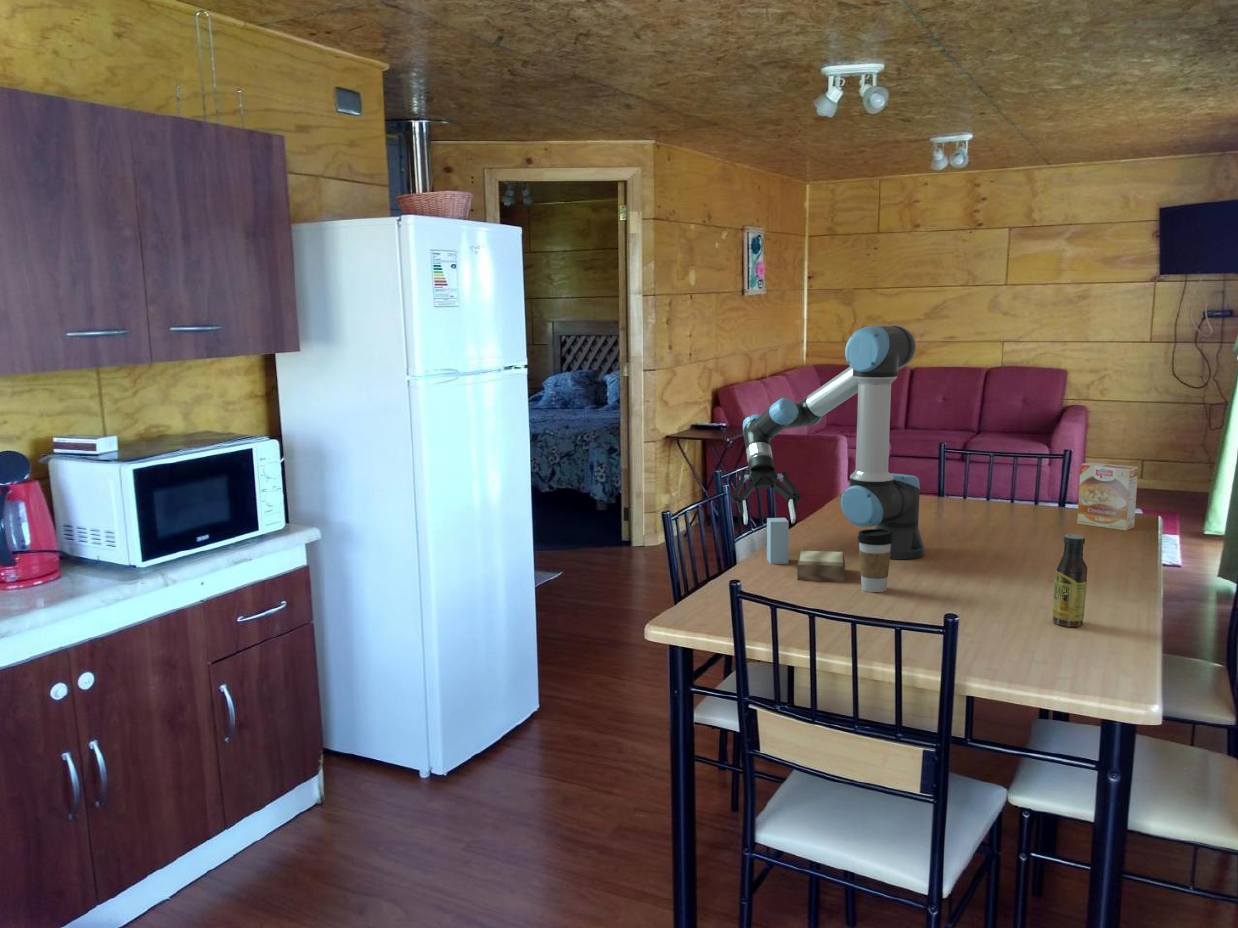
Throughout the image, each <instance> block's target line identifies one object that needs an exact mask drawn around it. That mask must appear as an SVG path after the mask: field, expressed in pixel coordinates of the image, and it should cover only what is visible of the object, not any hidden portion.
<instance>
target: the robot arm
mask: <svg viewBox="0 0 1238 928" xmlns="http://www.w3.org/2000/svg"><path fill="white" fill-rule="evenodd" d="M916 349H917V344H916V339H915V336H914V335H913V334H912V333H911V332H910V331H909V330H908V329H907V328H905V327H902V326H900V325H899V326H898V325H886V326H885V325H878V326H877V325H872V326H867V327H862V328H859V329H857V330H856V331H854V332H853V334H851V335H850V336H849V339H848V340H847V341H846V345H845V350H844V351H845V352H844V353H845V360H846V362H847V363H848V365H849V366H848V367H847V368H846V369H844V370H843V371H842V372H840V373H839V374H837V375H836V376H834V377H833V378H832V379H830V380H829V381H827V382H826V383H824V384H823V385H822V386H820V387H819V388H817V389H816V390H814V391H812V392H811V393H810V394H808V395H807V396H805V397H804V398H803V399H801V400H799V401H796V402H793V400H791V399H788V398H786V397H782V398H780V399H778V400H776V402H773V404H771V405H770V407H768V408H767V409H766V410H765V411H764V412H762V414H751V416H747V417H745V418H744V420H743V423H742V436H743V440H744V445H745V453H746V461H747V467H748V473H749V474H745V473H744V472H740V475H739V478H738V479H739V481H738V482H737V485H736V487H735V488H734V492H733V493H732V496H731V501H730V502H731V503H732V504H736V506H737V507H738V513H739V514H742V517H743V524H744V525H748V520H749V517H748V510H747V502H746V500H747V499H748V498H749V496H750V495H751V494H752V492H753V491H755V490H756V489H757V488H758V490H762V489H766V490H768V489H772V490H773V491H776V493H778V494H779V495H780V496H782V497H783V498H784V499H785V500H787V501H788V504H787V505H788V511H789V516H790V521H791V524H795V522H796V519H797V518H796V512H797V510H798V505H797V503H799V502H801V500H802V496H803V495H802V494H801V493H800V491H799V490H798V488H797V487H796V486H795V485H794V483H793V482H792V481H791V480H790V478H788V474H787V472H786V471H783V472H782V473H777V472H776V469H775V464H774V459H773V458H774V457H773V452H772V446H771V440H772V439H773V438H775V436H777V435H778V434H779V433H781V432H782V431H784V430H788V429H789V430H790V429H794V428H803V427H811V426H814V425H817V424H819V423H820V421H821V420H822V419H823V416H825V415H826V414H828V413H829V412H831V411H832V410H833V409H835V408H837V407H838V406H840V405H841V404H843V403H844V402H845V401H847V400H849V399H850V398H852V397H853V396H854V395H856V394H857V409H856V411H857V413H856V414H857V420H856V443H855V444H856V447H855V448H856V451H855V470H854V472H852V473H851V474H850V476H849V486H848V488H847V489H845V491H844V492H842V495H841V499H840V507H841V511H842V514H843V515H844V516H845V517H846V518H847V519H848V521H849V522H850V523H851V524H852V525H854V526H857V527H860V528H868V527H870V528H872V527H875V528H874V529H888V530H891V531H892V538H893V540H892V541H893V543H891V547H890V550H891V555H890V560H914V559H918V558H922V557H923V556H924V555H925V545H924V541H923V539H922V534H921V531H920V529H919V523H920V522H919V521H920V520H919V517H920V491H921V488H920V479H919V477H917V476H916V475H912V474H902V473H893V472H891V473H890V472H889V460H890V459H889V457H890V456H889V454H890V451H889V450H890V425H891V424H890V422H891V402H892V401H891V400H892V399H891V397H892V396H891V395H892V383H894V382H895V380H896V379H897V378H898V372H899V370H901V369H903V368H904V367H906V366H907V365H909V364H910V362H911V361H912V360H913V359H914V357H915V354H916ZM747 480H748V481H749V482H750V484H749V485H748V486H747V488H746V489H745V490H744V491H743V492H742V494H741V495H740V493H741V491H742V488H743V485H744V483H746V482H747ZM778 480H779V481H778ZM780 482H781V483H782V484H783V485H782V484H781V483H780ZM739 495H740V496H739Z"/></svg>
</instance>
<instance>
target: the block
mask: <svg viewBox="0 0 1238 928" xmlns="http://www.w3.org/2000/svg"><path fill="white" fill-rule="evenodd" d="M789 523H790V522H789V520H787V518H786V517H767V518H766V561H767V562H768V563H769V564H770V565H789V549H790V548H789V540H790V539H789V536H790V535H789V534H790V533H789V532H790V531H789V525H790V524H789Z"/></svg>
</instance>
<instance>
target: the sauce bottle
mask: <svg viewBox="0 0 1238 928" xmlns="http://www.w3.org/2000/svg"><path fill="white" fill-rule="evenodd" d="M1085 540H1086V537H1085V536H1084V535H1080V534H1076V533H1075V534H1074V533H1071V534H1070V533H1069V534H1068V533H1067V534H1065V535H1064V537H1063V546H1064V547H1063V552H1062V553H1063V554H1062V556H1061V558H1060V560H1059V562H1058V565H1057V566H1056V569H1055V577H1054V579H1055V580H1054V586H1053V587H1054V590H1053V599H1052V600H1053V603H1052V621H1053V623H1054V624H1055V625H1058V626H1061V627H1064V628H1078V627H1081V626H1083V624H1084V621H1083V620H1084V618H1085V608H1086V607H1085V606H1086V597H1087V596H1086V595H1087V584H1088V583H1087V582H1088V580H1087V578H1088V577H1087V576H1088V566H1087V564H1086V562H1085V560H1084V553H1083V552H1084V545H1085V542H1086V541H1085Z"/></svg>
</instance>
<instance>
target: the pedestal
mask: <svg viewBox="0 0 1238 928" xmlns="http://www.w3.org/2000/svg"><path fill="white" fill-rule="evenodd" d="M797 558H798V559H797V567H796V568H797V569H796V571H797V574H796V575H797V581H815V582H818V581H819V582H838V583H839V582H841V583H842V582H845V581H846V580H845V579H846V564H845V563H846V562H845V561H846V560H845V555H844V554H843V551H826V550H821V551H820V550H800V553H798V555H797Z"/></svg>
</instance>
